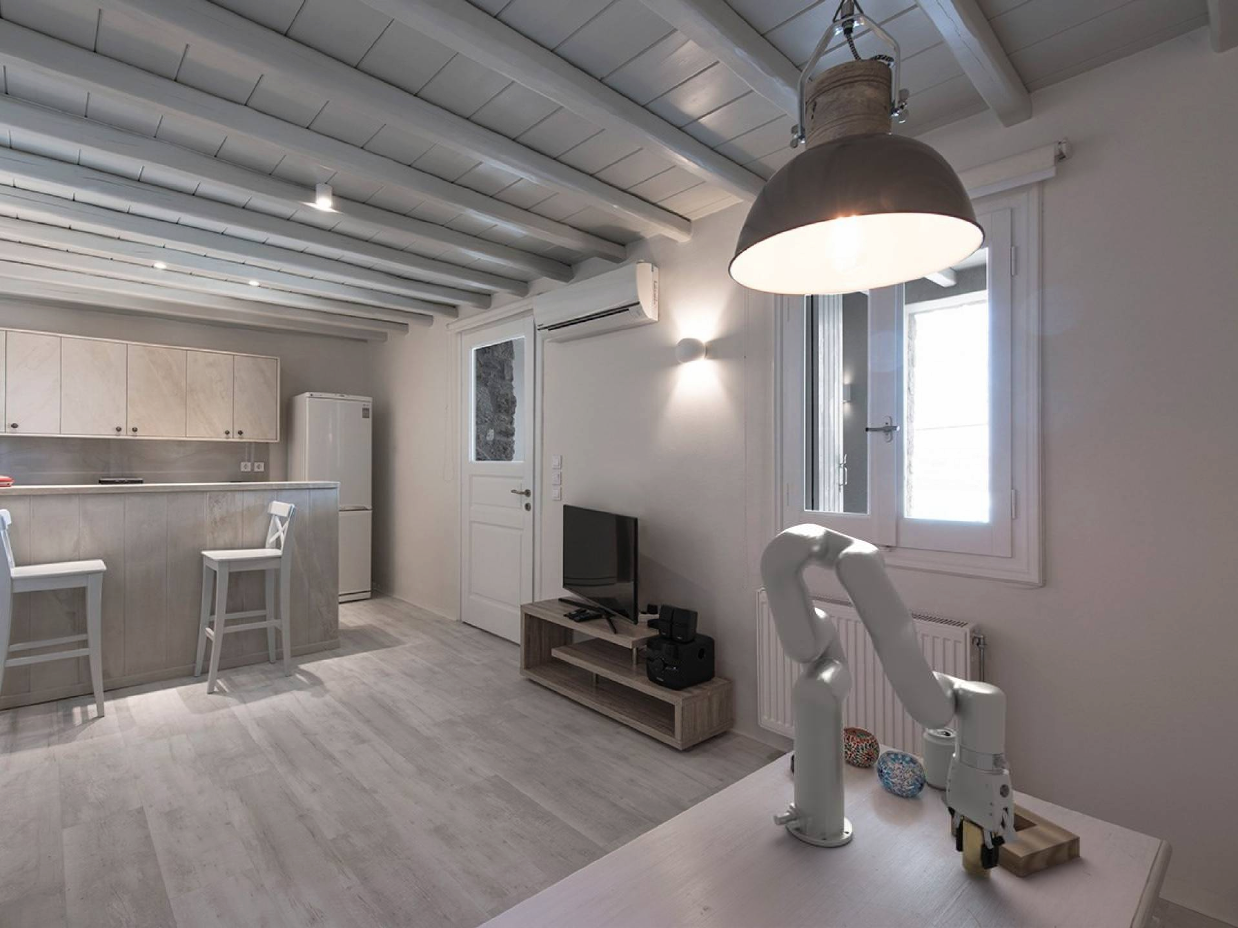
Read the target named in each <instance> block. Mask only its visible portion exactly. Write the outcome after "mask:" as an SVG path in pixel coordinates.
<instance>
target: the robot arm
mask: <svg viewBox="0 0 1238 928" xmlns="http://www.w3.org/2000/svg"><path fill="white" fill-rule="evenodd" d="M810 566H816V567H818V568H821V569H824V570H826V571H829V572H831V573H834V574H835V577H836V579H837V582H839V585H840V586H841V588H842V589H843V591H844V593H845V594H846V596H847V598H848V600H849V601H850V603H851V605H852V606H853V609H854V610H855V613H857V616H858V617H859V619H860V621H861V622H862V625H863V626H864V628H865V629H866V631H867V633H868V635H869V638H870V639H871V644H872V646H873V648H874V651H875V653H876V655H877V657H878V660H879V661H880V663H881V667H882V669H883V672H884V673H885V676H886V678H887V680H888V682H889V684H890V686H891V688H892V689H893V691H894V693H895V694H896V696H897V698H898V700H899V701H900V703H901V705H902V706H903V708H904V710H905V712H906V713H907V714H908V716H909V717H910V718H911V719H912V720H913V721H914V722H915V723H916V724H917V725H919V726H920V727H922V728H925V729H926V728H927V729H932V730H937V729H942V728H944V727H946V728H947V726H948V725H950V724H951V722H953V719H955V732H956V736H955V753H954V754H953V756H952V759H951V762H950V767H949V772H948V780H947V790H945V792H943V793H942V794H941V796H940V800H941V801H942V803H943V805H944V806H945V807H946V808H947V810H948V812H949V815H950V818H951V817H952V819H953V825H954V826H955V827H956V836H955V850H956V851H957V852H959V853H961V852H962V846H963V818H964V817H967V818H968V819H970V820H972V821H973V822H975V823H977V824H978V825H980V826H982V827H983V831H984V837H985V843H986V844H985V845H983V846H982V867H983V868H984V869H985V870H988V869H993V868H996V867H998V865H999V846H1001V845H1003V844H1007V843H1013V842H1017V841H1019V838H1018V836H1017V833H1016V832H1017V831H1015V829H1014V827H1013V826H1014V803H1015V802H1014V793H1013V786H1012V785H1013V784H1012V781H1011V775H1010V772H1009V769H1010V768H1011V767H1010V766H1011V765H1010V762H1008V761H1007V760H1006V759H1005V758H1006V757H1005V756H1006V755H1005V744H1006V742H1005V741H1006V713H1007V712H1006V711H1007V709H1006V707H1007V702H1006V701H1007V700H1006V695H1005V693H1004V692H1003V690H1001V689H1000V688H999V687H998V686H996V685H993V684H991V683H988V682H983V681H975V680H968V681H967V680H964V679H961V678H957V677H954V676H952V675H949V674H946V673H942V672H938V671H934V670H932V668H931V667H930V665H929V663H928V660H927V659H926V657H925V654H924V652H923V650H922V647H921V645H920V642H919V637H918V633H917V629H916V628H917V627H916V624H915V621H914V618H913V616H912V613H911V611H910V610H909V608H908V607H907V605H906V603H905V602H904V600H903V599H902V596H901V595H900V594H899V592H898V589H897V588H896V587H895V586H894V583H893V582H892V580H891V578H890V577H889V575H888V573H887V572H886V570H885V569H886V560H885V556H884V555H883V553H882V551H881V550H880V549H878V547H876V546H875V545H873V544H872V543H870V542H866V541H864V540H861V539H858V538H855V537H852V536H850V535H846V534H843V533H840V532H838V531H835V530H833V529H830V528H827V527H824V526H821V525H818V524H814V523H804V524H798V525H796V526H795V525H794V526H792V527H789V528H786V529H785V530H783V531H782V532H780V533H779V534H777V535H775V537H774V538H772V539H771V541H770V542H769V543H768V545H767V546H766V547H765V548H764V550H763V552H762V556H761V559H760V563H759V569H760V570H759V571H760V572H759V573H760V578H761V582H762V585H763V588H764V592H765V594H766V595H765V596H766V598H767V602H768V605H769V609H770V612H771V615H772V616H771V617H772V619H773V622H774V625H775V630H776V632H777V636H778V639H779V643H780V646H781V648H782V651H783V653H784V654H785V655H786V657H787V658H788V659H789V660H791V661H792V662H794V663H797V664H801V666H802V669H803V670H802V672H801V673H800V674H799V675H798V676H797V678H796V679H795V681H794V683H793V685H792V686H793V687H792V690H791V696H790V698H791V699H790V701H791V710H792V711H791V712H792V718H793V719H792V720H793V753H794V754H793V765H794V766H793V767H794V768H793V769H794V770H793V778H794V779H793V782H794V783H793V789H794V790H793V796H794V797H793V802H791V803H789V809H787V810H786V812H785V813H778V814H775V815H774V816H773V822H774V824H775V825H776V827H779V826H785V825H786V827H787V828H788V831H789V832H790V833H791V834H792V835H793V836H794V837H796V838H798V839H800V840H801V841H802V842H806V843H808V844H810V845H813V846H818V847H827V848H828V847H834V848H835V847H839V846H843V845H846V844H847V843H848V842H850V841H851V840H852V839H853V835H854V834H853V833H854V829H853V828H854V827H853V825H852V823H851V822H850V820H849V819H847V817H845V730H844V729H845V728H844V718H843V716H844V715H843V710H844V705H845V703H846V701H847V699H848V697H849V695H850V693H851V690H852V686H853V679H852V673H851V670H850V667H849V664H848V661H847V658H846V655H845V651H844V649H843V646H842V645H843V644H842V642H841V639H840V636H839V634H838V630H837V628H836V625H835V623H834V621H833V620H832V618H831V617H830V616H829V614H827V612H825V611H823V610H822V609H820V608H818V607H815V605H814V603H813V599H812V595H811V591H810V589H809V587H808V585H807V583H806V581H805V579H804V571H805V570H806V569H807V568H809V567H810ZM1000 825H1001V826H1002V828H1003V831H1004V835H1002V834H1001V828H1000ZM992 832H993V835H994V838H993V836H992Z"/></svg>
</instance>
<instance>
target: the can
mask: <svg viewBox="0 0 1238 928" xmlns="http://www.w3.org/2000/svg"><path fill="white" fill-rule="evenodd" d="M955 736H956V730H953V729H951V728H949V727H947V726H946V727H944V728H942V729H937V730H932V729H927V728H925V731H924V732H923V734H922V770H923V769H924V773H925V775H926V780H925V781H926V782H927V783H928V784H929V786H932V787H933V788H936V789H940V790H943V791H944V790H945V791H947V780H948V772H949V767H950V762H951V759H952V756H953V754H954V753H955Z"/></svg>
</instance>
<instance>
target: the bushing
mask: <svg viewBox="0 0 1238 928" xmlns="http://www.w3.org/2000/svg"><path fill="white" fill-rule="evenodd" d="M985 844H986V843H985V837H984V831H983V827H982V826H980V825H978V824H977V823H975V822H973V821H972V820H970V819H968V818H967V817H964V818H963V846H962V853H961V855H962V856H961V865H962V867H963V868H964V869H965V871H967V872H968V873H970V874H972V875H975V876H978V877H979V876H980V877H987V876H990V875H991V874H992V873H991V871H992V870H991V869H992V868H991V869H988V870H985V869H984V868H983V867H982V846H983V845H985Z"/></svg>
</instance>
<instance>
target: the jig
mask: <svg viewBox="0 0 1238 928" xmlns="http://www.w3.org/2000/svg"><path fill="white" fill-rule="evenodd" d="M1013 803H1014V826H1013V827H1014V829H1015V831H1016V833H1017V836H1018V838H1019V841H1017V842H1013V843H1007V844H1003V845H1001V846H999V863H998V865H999V864H1000V865H1001V866H1002V867H1004V868H1005V869H1007V870H1009V871H1011V872H1012V873H1014V874H1015V875H1017V876H1018V877H1020V878H1022V877H1026V876H1027V875H1030V874H1033V873H1036V872H1039V871H1042V870H1044V869H1046V868H1050V867H1052V866H1055V865H1058V864H1061V863H1064V862H1066V861H1069V860H1071V859H1075V858H1077V857H1080V856H1081V853H1080V849H1081V847H1080V846H1081V845H1080V843H1081V841H1080V840H1081V839H1080V836H1079V835H1077V834H1075V833H1073V832H1071V831H1069V830H1068V829H1065V828H1064V827H1061V825H1060V826H1059V825H1058V824H1056V823H1055V822H1052V821H1050V820H1048V819H1046V818H1044V817H1042V816H1040V815H1038V814H1036V813H1035V812H1033V811H1032V810H1031V811H1030V810H1029V809H1026V807H1025V808H1024V807H1023V806H1021V805H1019V804H1017V803H1015V802H1013ZM1000 828H1001V834H1002V835H1004V831H1003V828H1002V826H1001V825H1000ZM950 833H951V835H953V836H955V837H956V827H955V826H954V825H953V819H952V817H951V816H950ZM992 836H993V838H994V835H993V832H992Z"/></svg>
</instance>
